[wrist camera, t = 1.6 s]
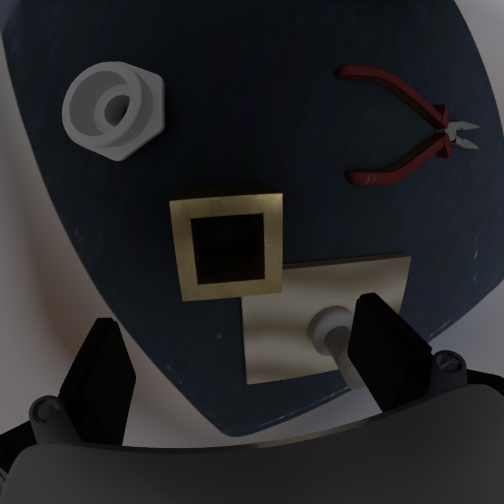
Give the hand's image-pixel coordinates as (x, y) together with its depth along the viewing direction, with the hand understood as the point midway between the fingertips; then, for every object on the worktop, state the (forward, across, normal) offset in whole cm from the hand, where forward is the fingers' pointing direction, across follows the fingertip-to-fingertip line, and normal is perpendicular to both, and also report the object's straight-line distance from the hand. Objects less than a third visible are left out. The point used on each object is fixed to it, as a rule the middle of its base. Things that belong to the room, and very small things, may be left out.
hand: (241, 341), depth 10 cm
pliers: (+15, -20, -9) cm, 26 cm away
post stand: (+15, -10, +10) cm, 21 cm away
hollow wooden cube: (+15, 0, -1) cm, 15 cm away
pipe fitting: (+15, +7, -11) cm, 20 cm away
